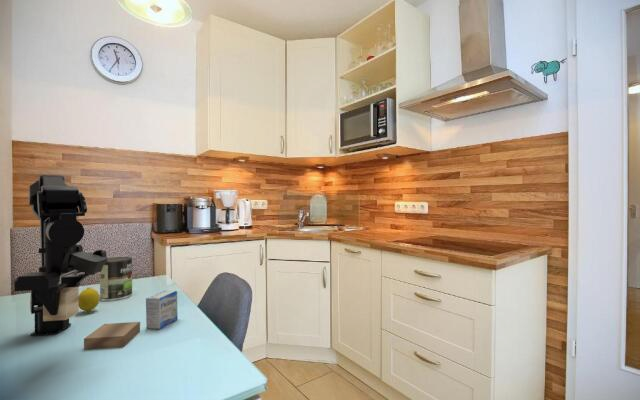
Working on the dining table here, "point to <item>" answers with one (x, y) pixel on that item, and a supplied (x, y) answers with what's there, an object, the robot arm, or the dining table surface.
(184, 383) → the dining table surface
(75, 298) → the birch block
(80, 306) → the lemon
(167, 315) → the medicine box
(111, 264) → the coffee can
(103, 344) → the walnut block
